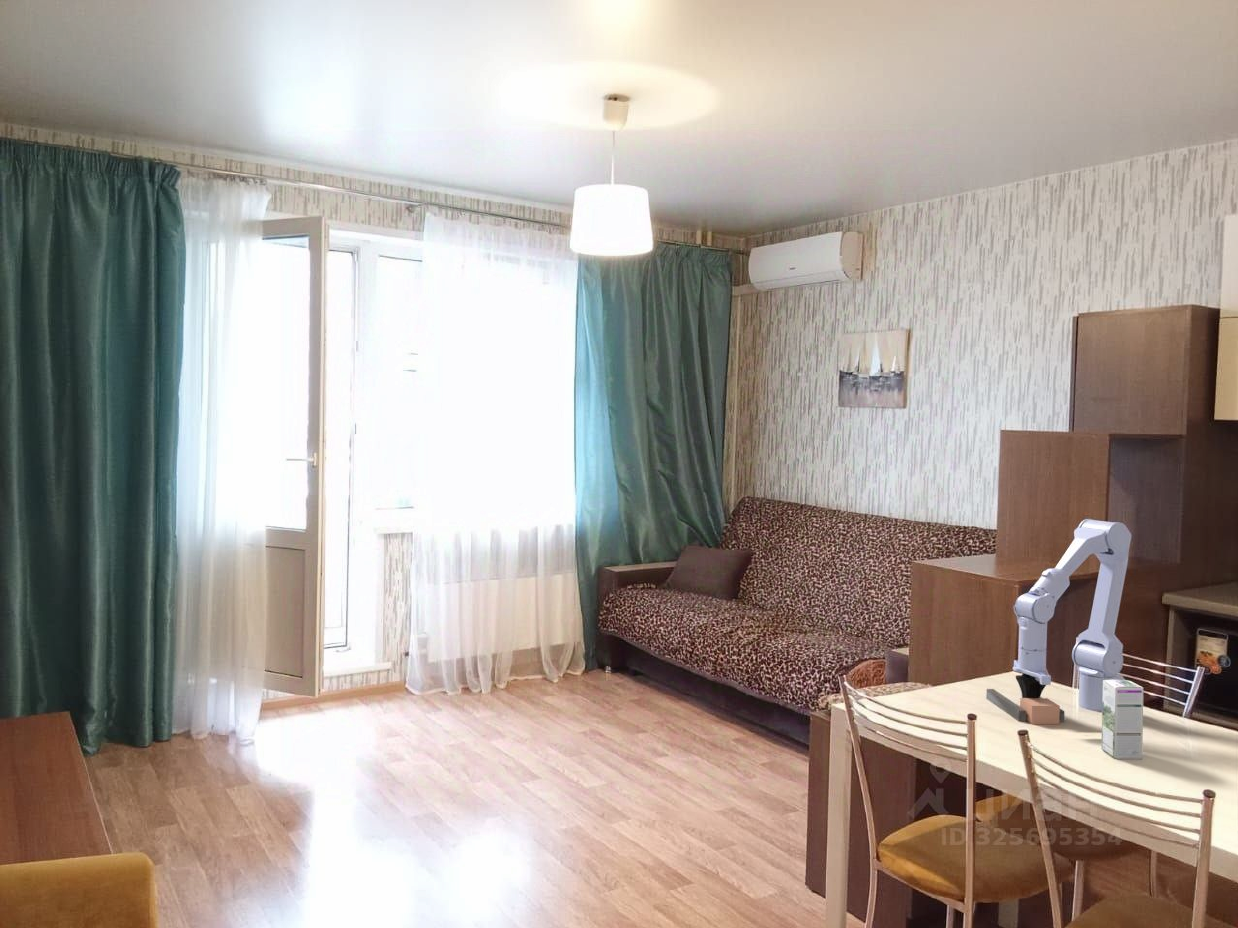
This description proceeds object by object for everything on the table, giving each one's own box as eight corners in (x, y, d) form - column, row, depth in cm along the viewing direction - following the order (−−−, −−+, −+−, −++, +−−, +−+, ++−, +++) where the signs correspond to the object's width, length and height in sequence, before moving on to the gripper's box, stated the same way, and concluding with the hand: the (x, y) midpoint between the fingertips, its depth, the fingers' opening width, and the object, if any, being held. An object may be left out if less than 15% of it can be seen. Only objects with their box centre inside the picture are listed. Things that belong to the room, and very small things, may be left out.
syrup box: (1143, 759, 194) (1145, 686, 194) (1113, 759, 194) (1115, 686, 194) (1129, 750, 200) (1131, 679, 199) (1099, 749, 200) (1101, 678, 199)
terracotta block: (1046, 716, 219) (1047, 698, 219) (1059, 724, 213) (1059, 705, 213) (1019, 715, 219) (1020, 697, 219) (1031, 723, 213) (1032, 705, 213)
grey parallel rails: (1026, 700, 236) (1027, 685, 236) (1075, 731, 212) (1075, 715, 212) (977, 699, 236) (977, 685, 236) (1019, 730, 212) (1020, 714, 212)
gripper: (1001, 640, 227) (999, 699, 227) (1028, 655, 212) (1026, 717, 213) (1031, 641, 227) (1030, 699, 228) (1061, 655, 213) (1059, 718, 213)
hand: (1030, 708), depth 220 cm, fingers closed
